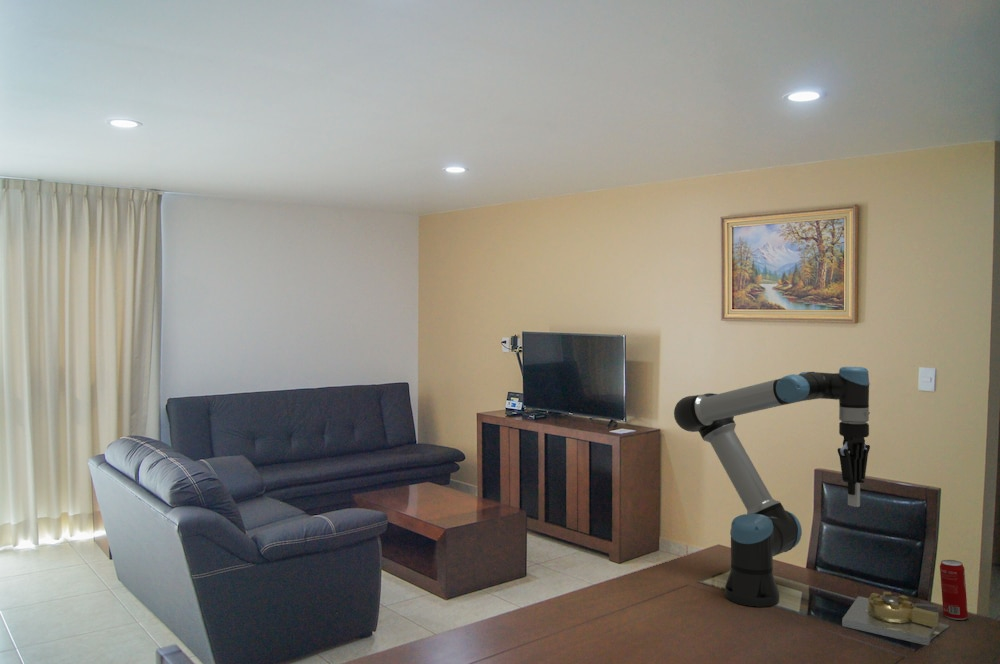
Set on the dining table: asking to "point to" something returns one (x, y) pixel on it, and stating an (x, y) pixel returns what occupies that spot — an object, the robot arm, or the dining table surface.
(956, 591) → the beverage can
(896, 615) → the gold knob with handle
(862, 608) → the flange plate
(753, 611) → the dining table surface
